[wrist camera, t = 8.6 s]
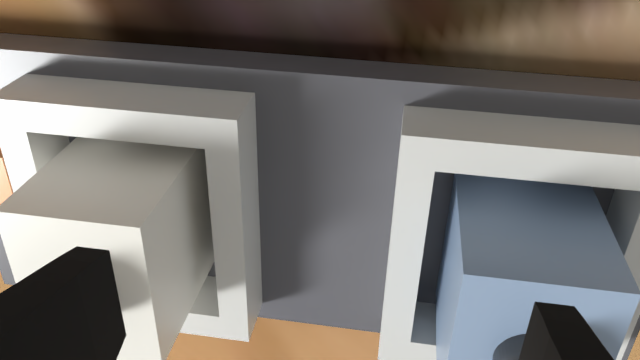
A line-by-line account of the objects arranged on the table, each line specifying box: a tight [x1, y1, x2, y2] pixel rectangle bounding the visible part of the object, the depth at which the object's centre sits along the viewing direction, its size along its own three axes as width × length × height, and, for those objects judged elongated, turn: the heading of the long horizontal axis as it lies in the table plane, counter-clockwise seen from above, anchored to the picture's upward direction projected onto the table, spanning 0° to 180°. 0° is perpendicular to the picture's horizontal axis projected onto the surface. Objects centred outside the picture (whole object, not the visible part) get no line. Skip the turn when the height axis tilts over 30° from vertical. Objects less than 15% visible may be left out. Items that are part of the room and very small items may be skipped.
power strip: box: [0, 33, 640, 360], centre depth 20 cm, size 10×24×4 cm, turn 89°
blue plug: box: [435, 173, 640, 360], centre depth 16 cm, size 5×4×7 cm
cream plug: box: [0, 137, 214, 360], centre depth 18 cm, size 5×4×7 cm
